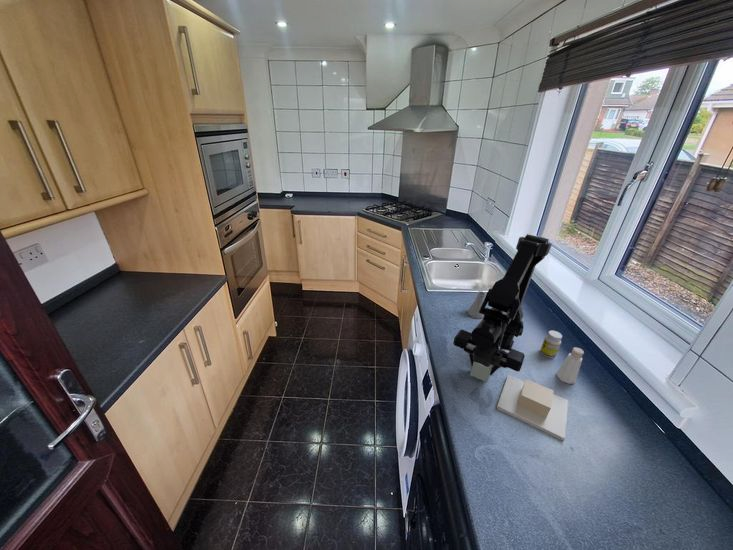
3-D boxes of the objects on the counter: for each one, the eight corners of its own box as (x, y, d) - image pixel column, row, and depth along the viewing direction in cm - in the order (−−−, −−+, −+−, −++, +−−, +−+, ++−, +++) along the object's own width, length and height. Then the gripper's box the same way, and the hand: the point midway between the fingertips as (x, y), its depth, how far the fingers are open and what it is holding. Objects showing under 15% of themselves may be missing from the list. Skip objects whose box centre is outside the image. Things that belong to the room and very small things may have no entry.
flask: (489, 317, 121) (495, 296, 116) (475, 320, 118) (480, 299, 114) (477, 307, 127) (482, 287, 122) (463, 310, 124) (468, 290, 120)
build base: (507, 377, 92) (511, 364, 90) (567, 402, 84) (573, 390, 82) (496, 408, 82) (500, 395, 79) (563, 441, 74) (570, 427, 71)
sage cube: (475, 365, 94) (478, 353, 92) (491, 372, 92) (495, 360, 89) (470, 374, 90) (473, 362, 88) (486, 382, 88) (490, 369, 86)
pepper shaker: (573, 373, 94) (586, 346, 89) (578, 386, 90) (592, 358, 85) (554, 369, 96) (566, 342, 91) (557, 381, 91) (570, 353, 86)
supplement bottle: (540, 347, 105) (547, 327, 102) (555, 352, 103) (563, 332, 99) (539, 355, 102) (547, 335, 98) (555, 360, 100) (563, 340, 96)
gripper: (451, 330, 82) (442, 372, 89) (524, 359, 73) (508, 403, 80) (464, 312, 90) (455, 352, 97) (531, 336, 81) (516, 378, 88)
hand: (481, 370), depth 91 cm, fingers closed on sage cube, 5 cm apart
